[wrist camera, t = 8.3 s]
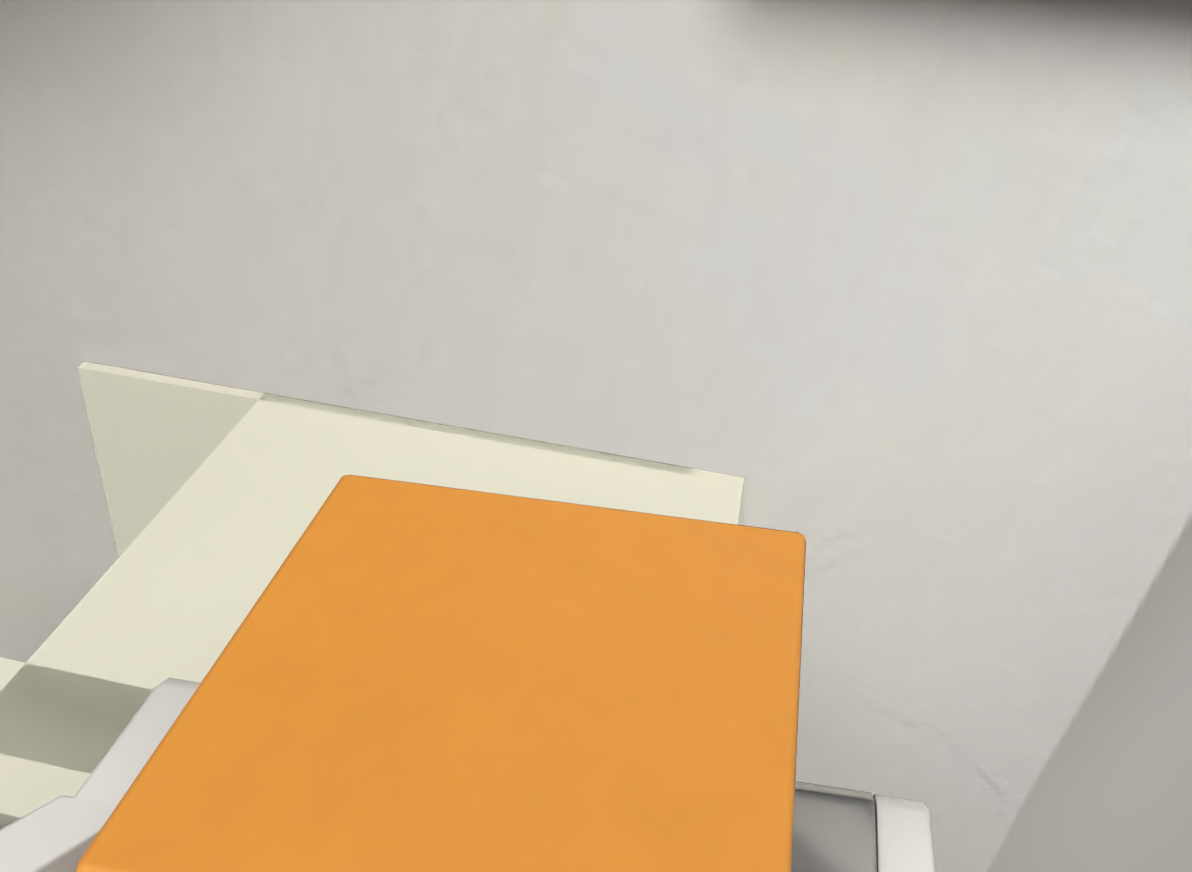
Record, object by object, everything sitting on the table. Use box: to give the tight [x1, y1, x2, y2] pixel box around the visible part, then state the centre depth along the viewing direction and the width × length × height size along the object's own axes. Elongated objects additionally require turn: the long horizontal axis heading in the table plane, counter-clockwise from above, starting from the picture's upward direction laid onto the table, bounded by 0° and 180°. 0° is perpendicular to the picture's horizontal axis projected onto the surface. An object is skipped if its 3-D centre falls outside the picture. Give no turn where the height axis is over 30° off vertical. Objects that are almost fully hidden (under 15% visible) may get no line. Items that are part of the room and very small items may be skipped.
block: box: [76, 474, 806, 872], centre depth 11 cm, size 5×5×5 cm
